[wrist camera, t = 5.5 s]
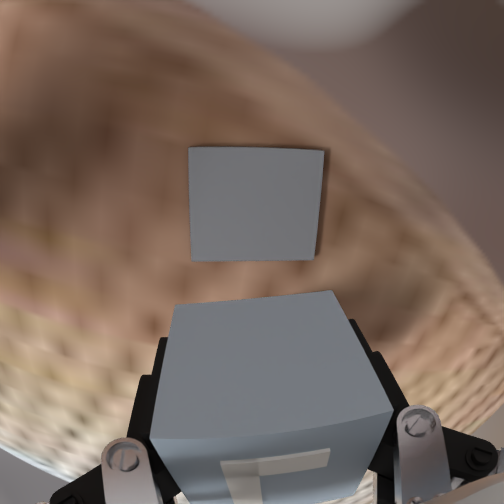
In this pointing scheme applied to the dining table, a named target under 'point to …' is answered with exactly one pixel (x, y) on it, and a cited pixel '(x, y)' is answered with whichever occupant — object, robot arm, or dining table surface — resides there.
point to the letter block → (267, 402)
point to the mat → (254, 203)
